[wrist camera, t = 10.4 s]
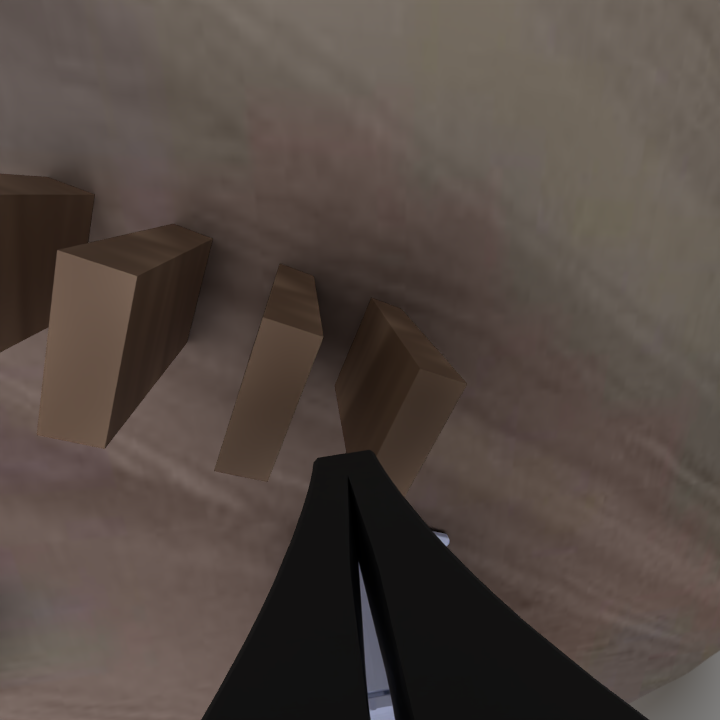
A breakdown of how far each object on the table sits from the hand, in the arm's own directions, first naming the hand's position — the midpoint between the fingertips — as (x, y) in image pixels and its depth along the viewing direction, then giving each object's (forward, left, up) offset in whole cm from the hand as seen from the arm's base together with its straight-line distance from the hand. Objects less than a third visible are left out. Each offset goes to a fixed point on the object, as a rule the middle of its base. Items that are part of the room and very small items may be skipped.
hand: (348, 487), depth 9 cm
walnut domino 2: (+2, 0, -10) cm, 11 cm away
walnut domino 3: (+7, 0, -10) cm, 12 cm away
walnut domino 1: (-2, 0, -10) cm, 11 cm away
